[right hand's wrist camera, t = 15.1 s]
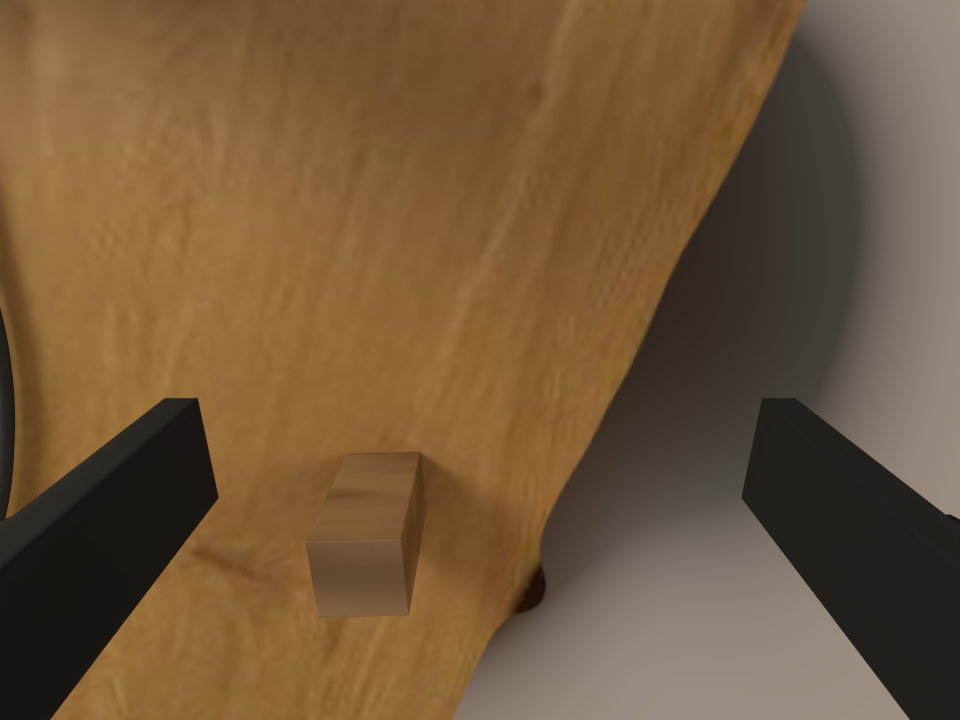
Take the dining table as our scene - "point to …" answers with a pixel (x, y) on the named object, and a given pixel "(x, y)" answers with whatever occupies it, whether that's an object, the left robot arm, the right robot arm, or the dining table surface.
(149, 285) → the dining table surface
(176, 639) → the dining table surface
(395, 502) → the wooden block
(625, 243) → the dining table surface
